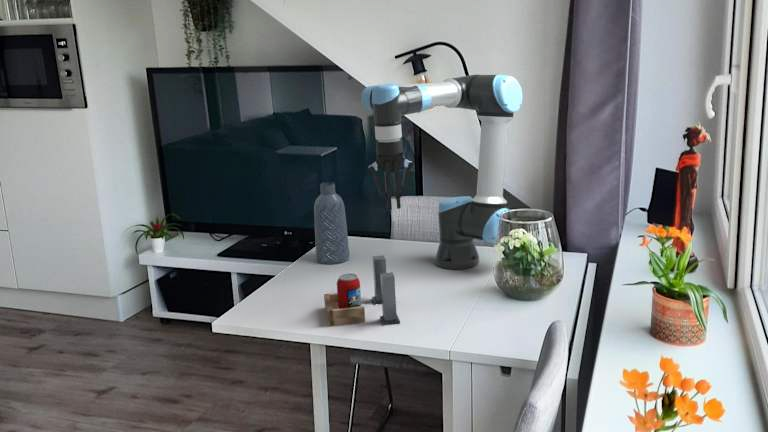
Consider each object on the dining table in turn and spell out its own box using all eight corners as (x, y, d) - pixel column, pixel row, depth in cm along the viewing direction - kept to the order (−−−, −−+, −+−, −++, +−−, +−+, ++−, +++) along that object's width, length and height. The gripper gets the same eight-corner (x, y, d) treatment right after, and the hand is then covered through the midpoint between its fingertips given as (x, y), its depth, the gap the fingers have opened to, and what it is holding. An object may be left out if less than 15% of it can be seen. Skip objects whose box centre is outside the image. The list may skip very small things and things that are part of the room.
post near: (397, 316, 221) (394, 271, 217) (400, 323, 216) (397, 276, 213) (380, 318, 220) (377, 273, 217) (382, 325, 215) (379, 278, 212)
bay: (359, 304, 232) (358, 290, 231) (365, 322, 218) (364, 307, 217) (325, 308, 231) (323, 294, 230) (328, 326, 217) (327, 311, 216)
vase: (355, 259, 275) (350, 183, 268) (325, 267, 269) (319, 189, 262) (340, 252, 285) (334, 178, 278) (310, 258, 280) (304, 183, 272)
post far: (388, 297, 237) (385, 254, 233) (390, 303, 232) (388, 259, 228) (372, 299, 236) (369, 256, 233) (374, 304, 231) (371, 260, 228)
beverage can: (357, 320, 220) (355, 281, 217) (335, 318, 222) (332, 279, 219) (365, 311, 226) (362, 273, 223) (343, 310, 228) (340, 272, 225)
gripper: (409, 135, 219) (414, 214, 226) (364, 139, 218) (371, 218, 224) (413, 139, 212) (419, 220, 218) (367, 144, 211) (374, 225, 217)
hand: (394, 219), depth 221 cm, fingers closed
